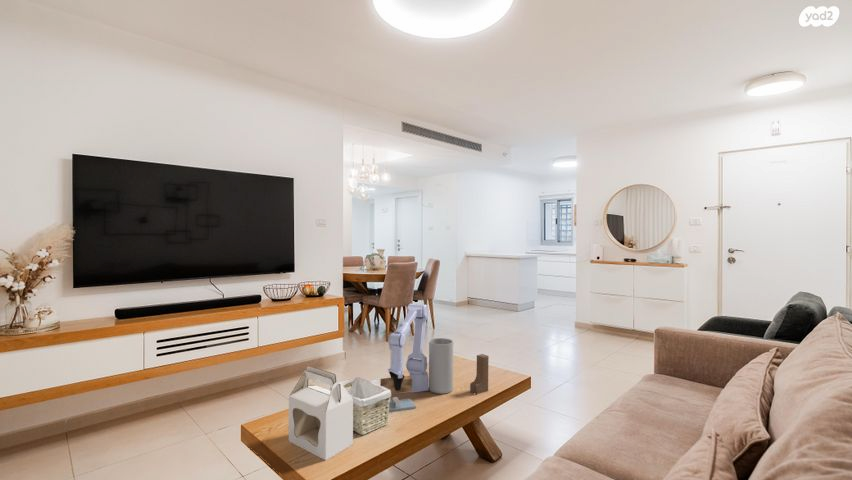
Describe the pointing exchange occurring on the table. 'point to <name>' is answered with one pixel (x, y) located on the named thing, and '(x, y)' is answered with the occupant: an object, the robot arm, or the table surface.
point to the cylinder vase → (441, 365)
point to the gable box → (320, 415)
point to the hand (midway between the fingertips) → (396, 388)
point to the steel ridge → (396, 402)
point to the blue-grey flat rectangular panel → (402, 405)
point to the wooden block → (480, 375)
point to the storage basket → (368, 404)
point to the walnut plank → (389, 384)
